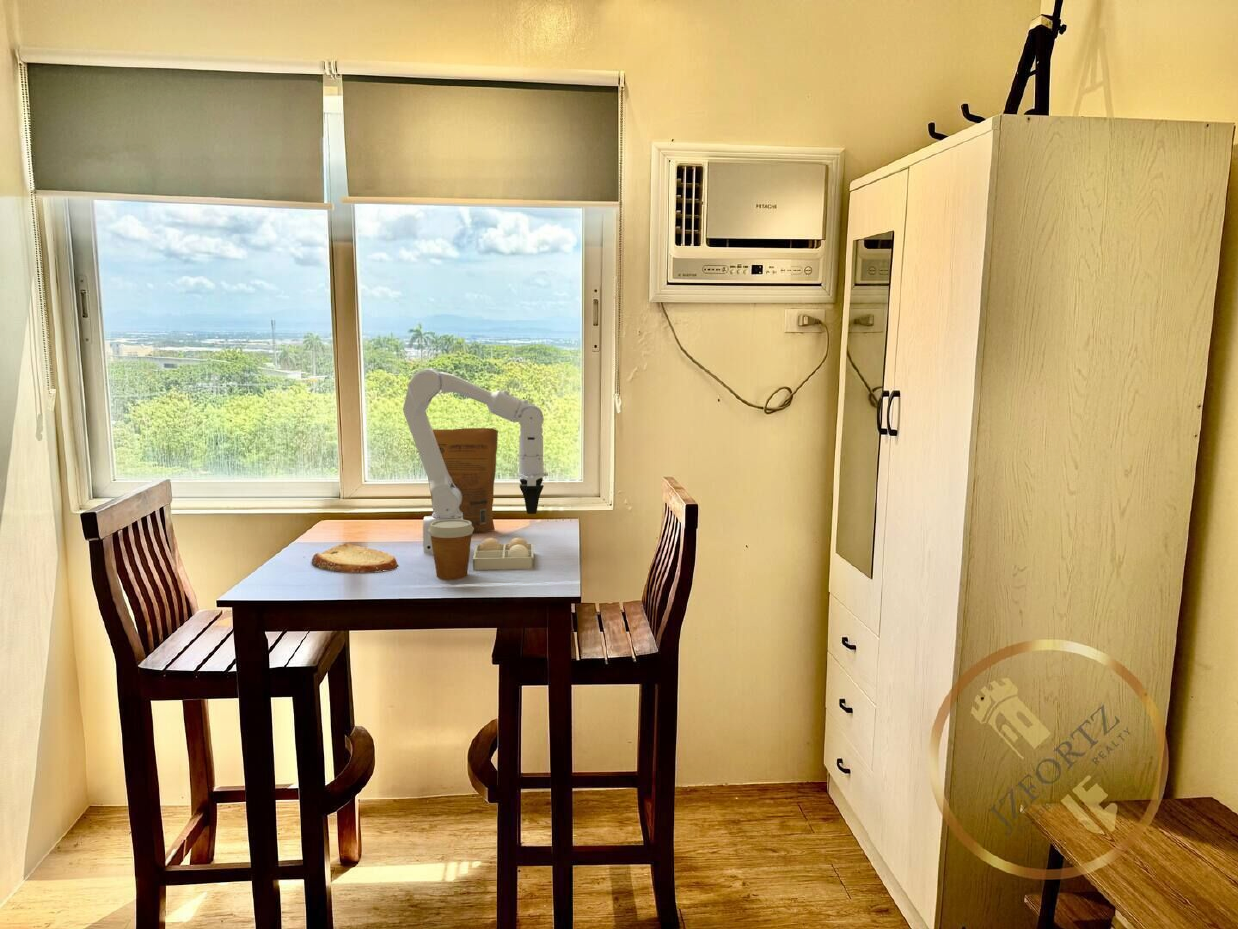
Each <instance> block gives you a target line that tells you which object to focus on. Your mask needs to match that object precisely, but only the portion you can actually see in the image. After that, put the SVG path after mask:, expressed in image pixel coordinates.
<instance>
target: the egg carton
mask: <svg viewBox="0 0 1238 929" xmlns="http://www.w3.org/2000/svg"><path fill="white" fill-rule="evenodd" d="M481 544H482V543H479V544H475V549H474V553H473V556H472V557H473V558H472V570H477V571H478V570H511V569H512V570H514V569H515V570H516V569H518V570H520V569H521V570H522V569H525V570H526V569H534V543H533V542H532V543H531V542H529V543H528V542H527V544H528V553H529V556H528V557H513V558H508V552H509V549H508V546H509V543H499V544H500V551H481V550H480V547H481Z"/></svg>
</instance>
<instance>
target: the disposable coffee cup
mask: <svg viewBox="0 0 1238 929" xmlns="http://www.w3.org/2000/svg"><path fill="white" fill-rule="evenodd" d="M473 530H474V528H473V527H472V523H471V522H470V521H468V520H462V519H446V520H439V521H434V522H432V523H431V524H430V528H429V529H428V532H429V534H430V535H431V542H432V548H433V554H432V555H433V560H434V566H435V572H436V573H435V574H436V578H437V579H439V580H443V581H444V580H445V581H455V580H461V579H464V578H466V577H467V576H468V572H469V571H468V570H469V564H470V563H469V562H470V554H471V553H470V552H471V544H472V534H473V533H474V532H473Z"/></svg>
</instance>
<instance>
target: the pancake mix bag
mask: <svg viewBox="0 0 1238 929" xmlns="http://www.w3.org/2000/svg"><path fill="white" fill-rule="evenodd" d="M432 430H433V433H434V436H435V439H436V441H437V444H438V447H439V449H440V452H441V455H442V458H443V460H444V463H445V466H446V469H447V471H448V474H449V475H450V477H451V479H452V481H453V483H454V485H455V486H456V487H457V488H458V489H459V490H460V492H461V494H462V502H461V504H460V505H459V509H460V511H461V512H462V513H463V520H468V521H470V522H471V523H472V527H473V528H474V530H473V533H482V534H483V533H488V532H493V531H495V530H496V529H495V523H494V518H493V506H494V492H495V491H494V490H495V489H494V484H495V479H496V469H497V452H498V438H499V437H498V436H499V430H497V429H495V428H491V427H490V428H489V427H472V428H471V427H470V428H469V427H467V428H453V429H447V428H446V429H432ZM427 479H428V478H427ZM427 482H428V486H429V488H430V483H429V479H428V480H427ZM429 492H430V493H429V494H430V498H431V499H430V501H432V500H433V497H432V493H431V490H430V489H429ZM432 511H433V512H434V510H433V509H432ZM433 512H432V513H433Z"/></svg>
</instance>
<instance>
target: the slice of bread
mask: <svg viewBox="0 0 1238 929" xmlns="http://www.w3.org/2000/svg"><path fill="white" fill-rule="evenodd" d="M311 562H312V564H313V565H314V566H315V567H316V568H318V569H322V570H326V571H331V570H333V571H332V572H341V571H343V573H351V572H355V574H356V572H359V573H360V572H370V573H376V572H375V571H382V572H384V571H383V570H389V571H391V570H392V569H393V570H396V569H398V568H399V564H398V562H397V559H396V558H395V556H394V555H392V554H389V553H387V552H384V551H382V550H376V549H374V548H373V549H372V548H367V547H362V546H357V545H354V544H348V543H342V544H339V545H337V546H334V547H332V548H330V549H327V550H325V551H323V552H322V553H319V552H317V553H315V554H314V555H313V556H312V559H311ZM397 567H398V568H397ZM395 568H396V569H395ZM393 570H392V571H393ZM359 573H358V574H359ZM360 574H361V573H360Z"/></svg>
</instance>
